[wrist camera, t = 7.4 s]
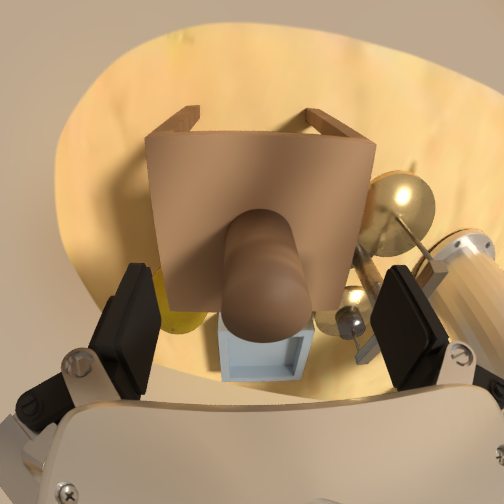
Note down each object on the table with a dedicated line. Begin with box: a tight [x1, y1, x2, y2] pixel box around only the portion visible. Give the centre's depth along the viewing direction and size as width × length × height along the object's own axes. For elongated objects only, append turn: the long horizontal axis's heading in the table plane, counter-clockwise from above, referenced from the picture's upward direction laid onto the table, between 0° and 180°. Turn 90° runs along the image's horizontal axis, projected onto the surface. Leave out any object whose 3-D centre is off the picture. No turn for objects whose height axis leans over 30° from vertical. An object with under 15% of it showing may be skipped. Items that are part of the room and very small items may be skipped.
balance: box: [315, 171, 449, 365], centre depth 22 cm, size 7×18×14 cm, turn 178°
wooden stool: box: [145, 105, 376, 343], centre depth 17 cm, size 10×10×16 cm
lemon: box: [152, 267, 208, 334], centre depth 26 cm, size 6×6×8 cm
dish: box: [218, 312, 315, 382], centre depth 34 cm, size 10×10×3 cm
